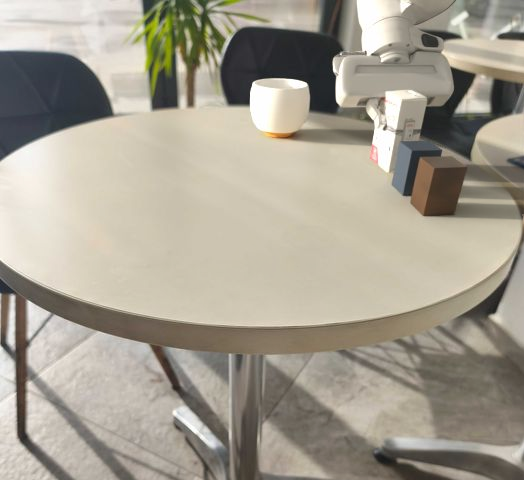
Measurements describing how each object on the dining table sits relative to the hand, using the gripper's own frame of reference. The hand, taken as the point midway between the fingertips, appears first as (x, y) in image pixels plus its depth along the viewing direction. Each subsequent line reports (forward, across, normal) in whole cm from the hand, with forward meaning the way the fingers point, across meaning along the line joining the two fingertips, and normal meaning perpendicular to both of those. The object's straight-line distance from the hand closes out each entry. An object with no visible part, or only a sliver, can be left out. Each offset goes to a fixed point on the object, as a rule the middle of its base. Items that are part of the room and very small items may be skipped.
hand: (399, 127), depth 84 cm
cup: (-12, -16, +23) cm, 30 cm away
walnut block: (+18, 0, -7) cm, 19 cm away
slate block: (+12, 0, -2) cm, 12 cm away
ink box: (+4, 0, +5) cm, 7 cm away
